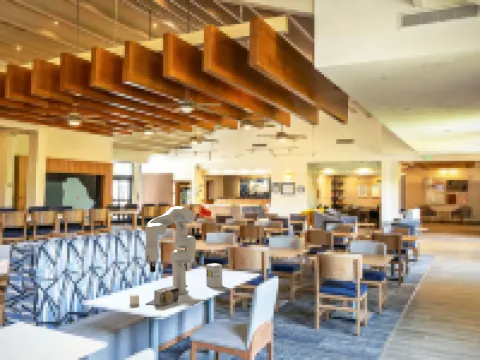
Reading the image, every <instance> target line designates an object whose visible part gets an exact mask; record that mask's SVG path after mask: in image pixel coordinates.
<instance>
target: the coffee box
mask: <svg viewBox="0 0 480 360" xmlns="http://www.w3.org/2000/svg"><path fill="white" fill-rule="evenodd" d="M178 292H179V288H177V287H175V286H173V285H171V286H167V287H162V288H158V289H154V291H153V294H154V297H153V300H154V304H156V305H155V306H158V307H159V306H160V307H161V305H164V304H168V303H171V304H172V302H173V303H174V302H178V301H179V295H178Z"/></svg>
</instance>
